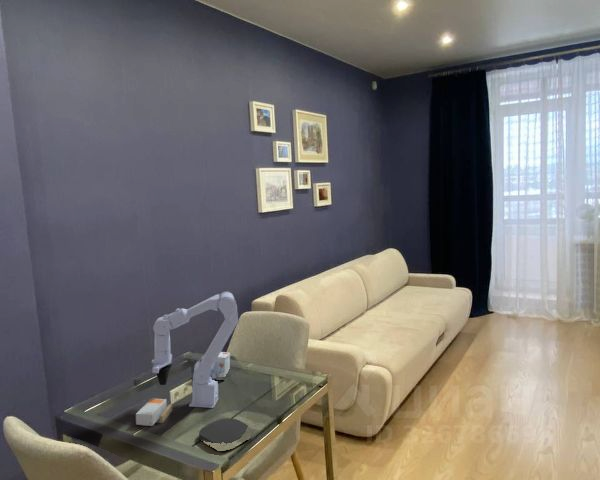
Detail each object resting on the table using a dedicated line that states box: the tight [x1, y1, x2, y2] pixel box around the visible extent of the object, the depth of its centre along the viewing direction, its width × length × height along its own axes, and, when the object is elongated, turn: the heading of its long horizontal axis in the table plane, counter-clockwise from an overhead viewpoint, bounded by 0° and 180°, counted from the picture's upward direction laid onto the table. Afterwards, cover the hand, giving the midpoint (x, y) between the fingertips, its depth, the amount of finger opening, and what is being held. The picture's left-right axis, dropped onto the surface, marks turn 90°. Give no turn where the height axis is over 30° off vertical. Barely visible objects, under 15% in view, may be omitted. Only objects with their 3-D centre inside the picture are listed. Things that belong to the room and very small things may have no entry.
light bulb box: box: [210, 351, 231, 378], centre depth 193 cm, size 11×7×11 cm, turn 81°
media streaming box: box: [198, 417, 249, 444], centre depth 146 cm, size 15×15×3 cm
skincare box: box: [135, 397, 168, 427], centre depth 157 cm, size 6×4×12 cm
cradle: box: [155, 404, 173, 424], centre depth 159 cm, size 10×9×2 cm
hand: (163, 384), depth 166 cm, fingers closed
